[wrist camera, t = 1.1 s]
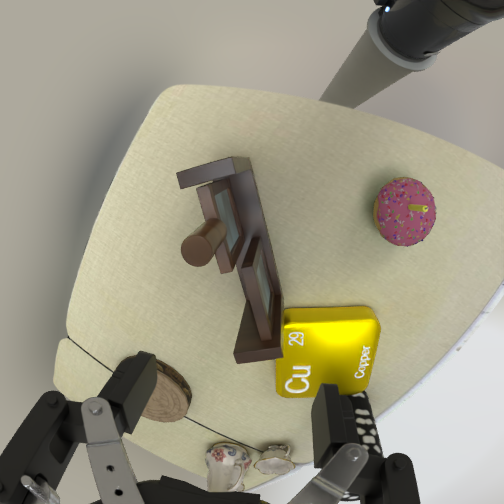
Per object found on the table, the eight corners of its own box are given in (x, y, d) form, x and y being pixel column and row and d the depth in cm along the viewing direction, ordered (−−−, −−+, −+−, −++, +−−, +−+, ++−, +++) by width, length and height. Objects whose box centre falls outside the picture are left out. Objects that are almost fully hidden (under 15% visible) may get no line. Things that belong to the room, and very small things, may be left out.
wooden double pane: (211, 167, 36) (175, 172, 23) (249, 157, 35) (231, 156, 23) (249, 304, 42) (236, 364, 29) (283, 298, 41) (283, 357, 28)
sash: (214, 181, 35) (164, 199, 20) (233, 176, 34) (195, 190, 19) (231, 244, 37) (198, 305, 22) (249, 240, 37) (227, 300, 22)
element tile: (361, 377, 45) (366, 396, 40) (276, 381, 46) (275, 401, 42) (375, 304, 40) (384, 320, 35) (276, 307, 41) (275, 324, 37)
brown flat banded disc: (208, 404, 50) (204, 415, 47) (152, 417, 53) (147, 426, 51) (156, 345, 46) (149, 355, 43) (104, 366, 50) (97, 375, 47)
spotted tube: (319, 398, 47) (327, 491, 28) (361, 381, 45) (385, 474, 26) (333, 420, 49) (342, 504, 30) (372, 405, 47) (393, 489, 28)
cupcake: (353, 193, 35) (384, 209, 24) (403, 163, 33) (449, 168, 22) (380, 247, 37) (415, 282, 26) (427, 217, 35) (474, 241, 24)
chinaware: (238, 476, 62) (236, 525, 46) (183, 460, 59) (174, 512, 43) (303, 437, 53) (311, 500, 38) (238, 417, 50) (235, 489, 34)
